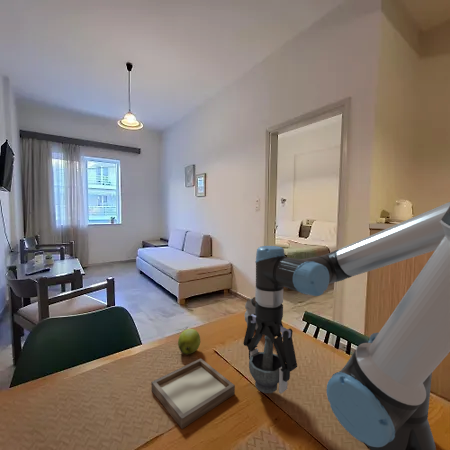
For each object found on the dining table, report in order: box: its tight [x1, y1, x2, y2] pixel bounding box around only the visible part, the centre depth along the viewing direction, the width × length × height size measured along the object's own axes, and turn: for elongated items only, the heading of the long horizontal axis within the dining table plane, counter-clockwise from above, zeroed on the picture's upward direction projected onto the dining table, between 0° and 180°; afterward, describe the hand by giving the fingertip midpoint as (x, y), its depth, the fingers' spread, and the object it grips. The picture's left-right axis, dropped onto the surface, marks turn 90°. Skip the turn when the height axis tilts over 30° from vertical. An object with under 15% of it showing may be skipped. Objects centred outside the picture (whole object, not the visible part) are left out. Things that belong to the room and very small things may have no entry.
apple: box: [177, 328, 201, 355], centre depth 90 cm, size 8×9×8 cm
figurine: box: [244, 296, 258, 331], centre depth 106 cm, size 9×10×15 cm
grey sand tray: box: [150, 358, 236, 430], centre depth 71 cm, size 16×17×3 cm
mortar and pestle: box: [248, 335, 282, 394], centre depth 71 cm, size 11×9×12 cm
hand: (267, 380), depth 71 cm, fingers closed on mortar and pestle, 10 cm apart
